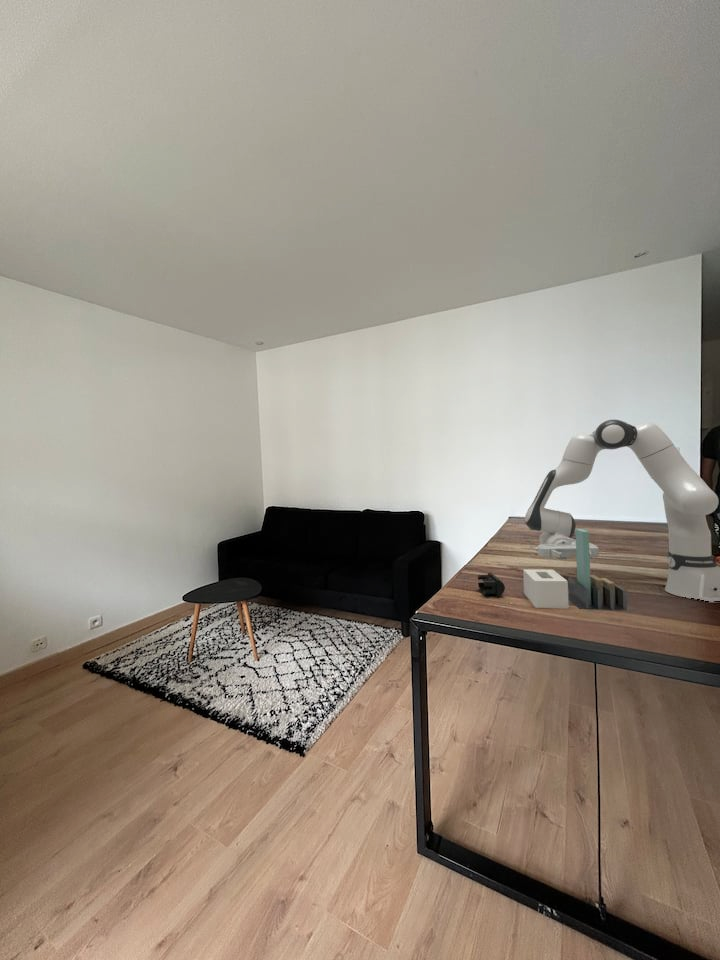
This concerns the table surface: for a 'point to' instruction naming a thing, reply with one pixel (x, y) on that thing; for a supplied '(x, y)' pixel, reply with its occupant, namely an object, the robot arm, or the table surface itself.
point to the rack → (597, 597)
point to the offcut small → (609, 585)
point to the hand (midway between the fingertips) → (574, 555)
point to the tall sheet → (583, 559)
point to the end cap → (490, 585)
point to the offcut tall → (597, 584)
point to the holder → (545, 588)
